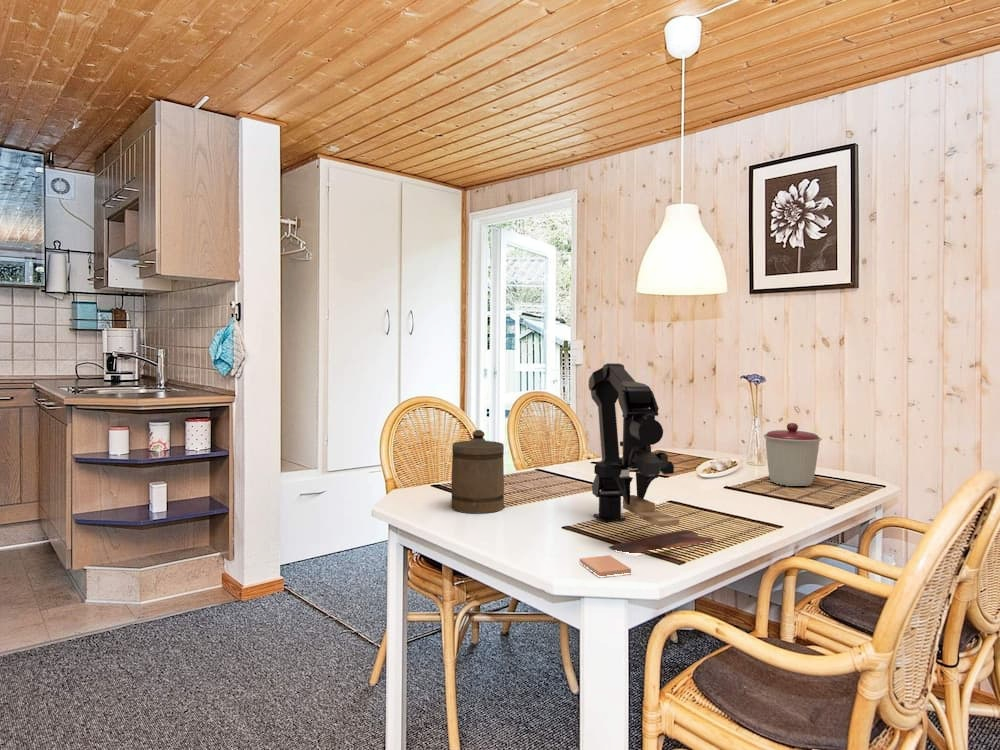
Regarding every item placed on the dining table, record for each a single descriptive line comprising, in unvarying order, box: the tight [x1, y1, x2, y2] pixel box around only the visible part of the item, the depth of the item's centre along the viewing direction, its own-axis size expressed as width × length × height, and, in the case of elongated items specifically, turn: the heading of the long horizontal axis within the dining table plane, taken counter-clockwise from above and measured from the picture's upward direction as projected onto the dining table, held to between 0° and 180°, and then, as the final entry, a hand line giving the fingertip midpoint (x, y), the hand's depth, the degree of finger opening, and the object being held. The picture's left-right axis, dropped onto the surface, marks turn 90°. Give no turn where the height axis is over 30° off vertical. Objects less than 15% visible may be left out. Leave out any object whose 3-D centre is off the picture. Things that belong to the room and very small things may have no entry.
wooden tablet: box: [608, 529, 715, 553], centre depth 150 cm, size 26×2×10 cm
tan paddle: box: [622, 494, 680, 528], centre depth 148 cm, size 17×5×3 cm, turn 20°
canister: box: [763, 422, 823, 487], centre depth 220 cm, size 18×18×21 cm
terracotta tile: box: [579, 555, 632, 576], centre depth 132 cm, size 2×7×9 cm
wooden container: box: [451, 429, 505, 514], centre depth 183 cm, size 15×15×22 cm
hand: (633, 503), depth 154 cm, fingers closed on tan paddle, 3 cm apart
